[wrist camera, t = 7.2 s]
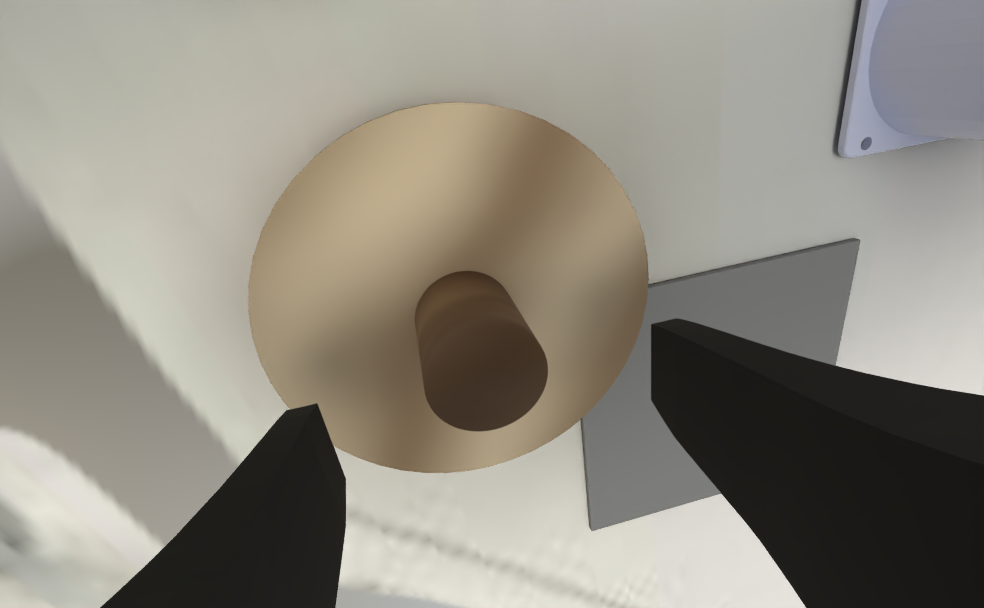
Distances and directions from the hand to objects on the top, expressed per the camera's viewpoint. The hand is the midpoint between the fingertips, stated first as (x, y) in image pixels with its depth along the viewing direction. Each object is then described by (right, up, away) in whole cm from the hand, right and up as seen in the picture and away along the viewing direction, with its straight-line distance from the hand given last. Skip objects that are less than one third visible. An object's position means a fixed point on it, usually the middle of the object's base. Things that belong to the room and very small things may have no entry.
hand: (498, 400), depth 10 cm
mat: (+11, -3, +14) cm, 18 cm away
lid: (-1, +2, +5) cm, 6 cm away
